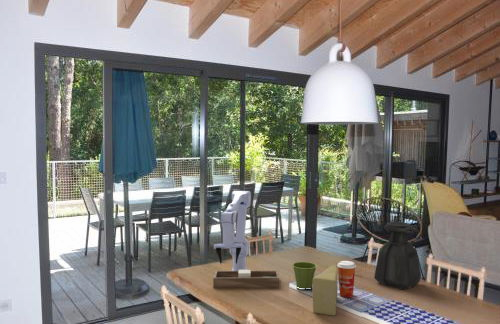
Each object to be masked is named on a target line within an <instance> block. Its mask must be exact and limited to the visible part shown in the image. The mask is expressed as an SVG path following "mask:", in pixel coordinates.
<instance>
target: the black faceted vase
mask: <svg viewBox="0 0 500 324" xmlns="http://www.w3.org/2000/svg"><path fill="white" fill-rule="evenodd" d="M383 229H384V230H386V231H389V232H391V233H390V236H389V239H388V241H387V242H385V243H384V244H382V245H381V247H380V249H379V252H378V256H377V261H376V266H375V271H374V277H373V278H374V280H376V281H377V283H379V284H380V285H384V286H388V287H392V288H396V289H399V290H404V291H405V290H406V289H410V288H411V287H413V286H416V285H417V284H419V283H420V281H421V280H422V273H421V266H420V261H419V256H418V251H417V249H416V248H415V247H414V245H413V243H412V242H409V241H408V237H407V234H406V232H408V231H411V230H413V229H414V226H413V225H412V224H410V223H408V222H403V221H388V222H386V224H384V225H383Z"/></svg>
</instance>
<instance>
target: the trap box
mask: <svg viewBox="0 0 500 324" xmlns="http://www.w3.org/2000/svg"><path fill="white" fill-rule="evenodd" d="M212 278H213V279H212V281H213V282H212V283H213V284H212V285H213V288H280V274H279V270H251V278H238V271H232V270H215V271H214V275H213V277H212Z"/></svg>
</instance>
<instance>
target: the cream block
mask: <svg viewBox="0 0 500 324" xmlns="http://www.w3.org/2000/svg"><path fill="white" fill-rule="evenodd" d="M251 271H252V270H251V269H247V270H239V271H238V278H251Z"/></svg>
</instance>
